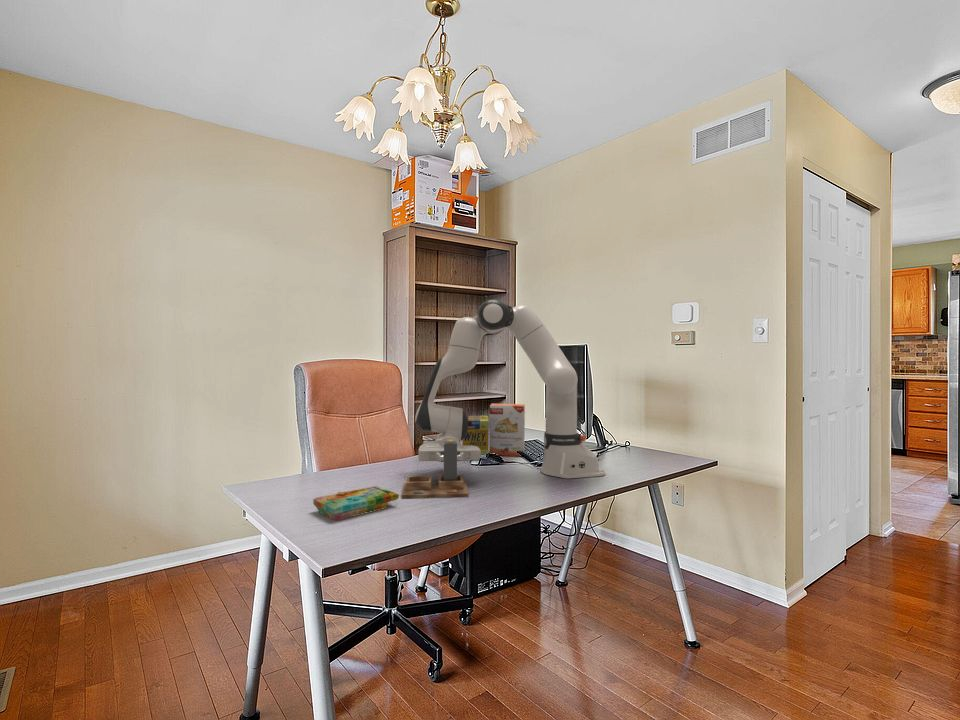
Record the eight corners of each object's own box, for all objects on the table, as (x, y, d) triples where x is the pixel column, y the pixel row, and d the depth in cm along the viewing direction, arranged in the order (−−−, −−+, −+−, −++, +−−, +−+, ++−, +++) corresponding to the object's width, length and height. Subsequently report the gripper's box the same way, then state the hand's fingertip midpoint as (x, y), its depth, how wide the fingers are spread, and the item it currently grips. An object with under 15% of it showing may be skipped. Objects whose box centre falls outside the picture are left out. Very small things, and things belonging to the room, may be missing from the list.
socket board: (465, 484, 175) (465, 473, 175) (468, 496, 161) (468, 485, 161) (403, 485, 173) (403, 474, 173) (401, 498, 159) (401, 486, 159)
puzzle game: (313, 496, 147) (376, 482, 160) (313, 513, 147) (376, 498, 161) (333, 505, 138) (398, 491, 152) (334, 523, 138) (398, 507, 152)
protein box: (462, 459, 211) (462, 420, 210) (463, 451, 226) (463, 415, 226) (488, 459, 211) (488, 420, 210) (487, 451, 226) (487, 415, 226)
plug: (456, 478, 171) (456, 438, 171) (456, 481, 167) (457, 441, 167) (443, 478, 171) (443, 438, 170) (443, 482, 167) (444, 441, 166)
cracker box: (489, 455, 218) (489, 404, 217) (491, 452, 224) (491, 402, 223) (523, 457, 216) (523, 405, 215) (524, 454, 222) (525, 403, 221)
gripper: (479, 458, 183) (483, 468, 169) (418, 459, 181) (418, 469, 167) (479, 440, 183) (483, 448, 169) (418, 440, 181) (418, 449, 167)
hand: (450, 458), depth 168 cm, fingers closed on plug, 4 cm apart
